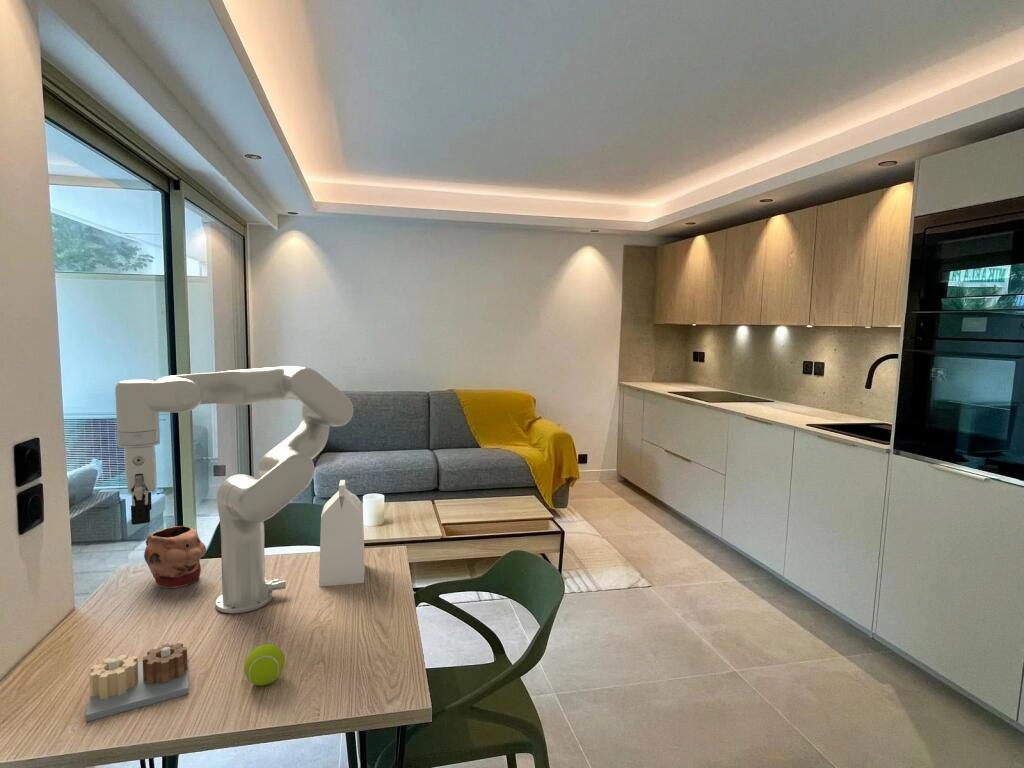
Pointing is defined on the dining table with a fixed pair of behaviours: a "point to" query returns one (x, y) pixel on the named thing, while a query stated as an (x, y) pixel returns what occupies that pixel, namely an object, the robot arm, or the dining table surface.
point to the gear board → (137, 696)
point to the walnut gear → (164, 664)
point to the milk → (342, 540)
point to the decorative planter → (174, 556)
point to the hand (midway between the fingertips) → (142, 516)
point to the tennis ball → (264, 664)
